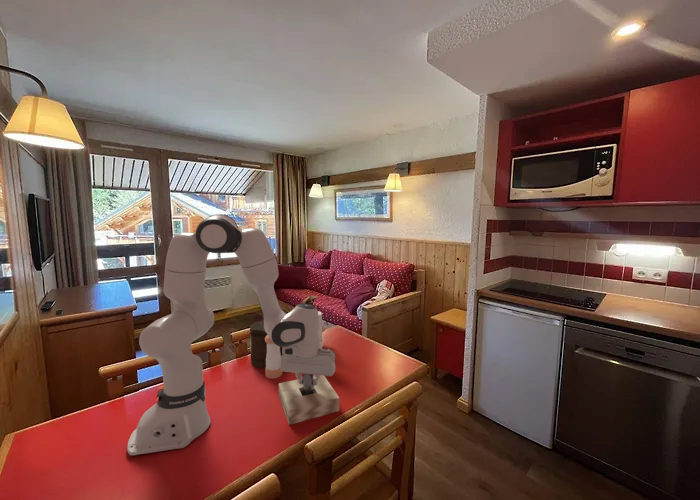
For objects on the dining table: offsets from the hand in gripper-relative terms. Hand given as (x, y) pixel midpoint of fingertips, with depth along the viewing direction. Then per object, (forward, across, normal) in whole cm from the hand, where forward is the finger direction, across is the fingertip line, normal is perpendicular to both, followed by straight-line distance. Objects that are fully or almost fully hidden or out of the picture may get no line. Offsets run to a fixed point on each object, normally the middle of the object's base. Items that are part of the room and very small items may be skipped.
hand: (308, 383), depth 109 cm
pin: (+5, 0, 0) cm, 5 cm away
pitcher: (+7, +15, -44) cm, 47 cm away
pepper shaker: (+8, +22, -17) cm, 29 cm away
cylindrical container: (+8, +7, -28) cm, 30 cm away
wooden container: (+8, +31, -28) cm, 42 cm away
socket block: (+8, 0, 0) cm, 8 cm away
